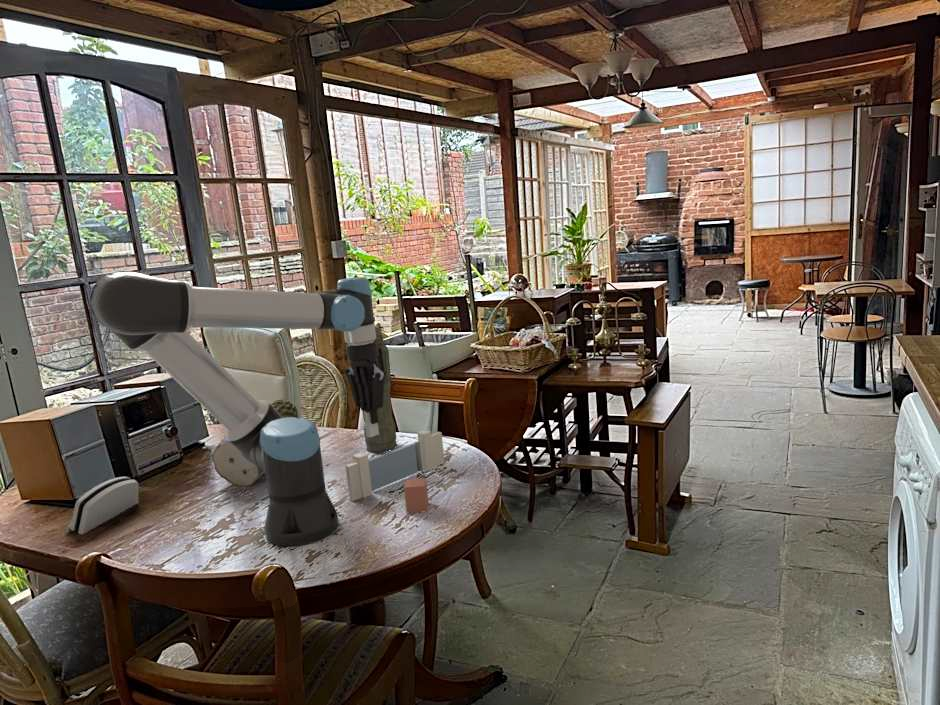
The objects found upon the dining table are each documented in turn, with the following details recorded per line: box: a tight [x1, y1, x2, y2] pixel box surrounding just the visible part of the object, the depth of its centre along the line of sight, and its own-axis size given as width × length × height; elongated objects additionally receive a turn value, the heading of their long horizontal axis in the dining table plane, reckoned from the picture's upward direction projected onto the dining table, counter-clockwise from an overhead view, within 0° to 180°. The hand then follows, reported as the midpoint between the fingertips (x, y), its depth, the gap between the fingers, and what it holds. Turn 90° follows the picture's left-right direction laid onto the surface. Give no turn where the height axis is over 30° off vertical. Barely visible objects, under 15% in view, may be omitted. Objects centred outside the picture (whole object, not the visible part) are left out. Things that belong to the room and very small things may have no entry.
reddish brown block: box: [403, 477, 429, 514], centre depth 147 cm, size 4×4×6 cm
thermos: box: [363, 325, 398, 454], centre depth 186 cm, size 9×12×35 cm
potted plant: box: [211, 399, 300, 487], centre depth 180 cm, size 18×18×30 cm
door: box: [368, 441, 423, 492], centre depth 163 cm, size 16×1×8 cm, turn 134°
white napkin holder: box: [66, 476, 139, 535], centre depth 156 cm, size 17×5×10 cm, turn 162°
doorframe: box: [345, 429, 445, 502], centre depth 163 cm, size 29×2×10 cm, turn 134°
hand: (372, 435), depth 164 cm, fingers closed
